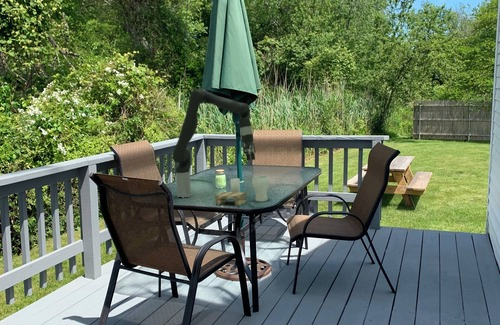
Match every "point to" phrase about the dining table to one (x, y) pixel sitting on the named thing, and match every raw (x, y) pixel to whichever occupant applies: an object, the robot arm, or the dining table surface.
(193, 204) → the dining table surface
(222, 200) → the shelf stand
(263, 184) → the cup
